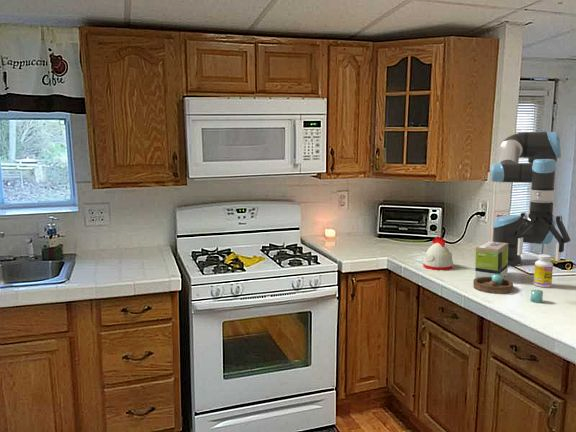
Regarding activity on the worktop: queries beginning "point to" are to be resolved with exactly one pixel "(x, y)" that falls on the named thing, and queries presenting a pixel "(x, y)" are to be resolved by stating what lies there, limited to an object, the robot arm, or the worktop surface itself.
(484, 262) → the tea box
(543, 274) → the supplement bottle
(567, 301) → the worktop surface
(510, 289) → the walnut tray
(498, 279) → the teal bead
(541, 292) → the teal bead
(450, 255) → the kitchen timer
